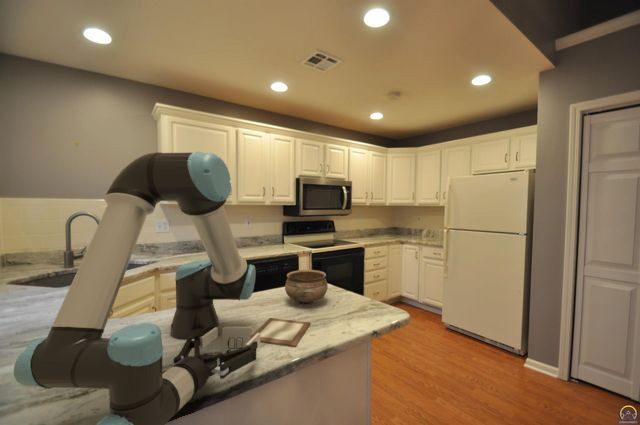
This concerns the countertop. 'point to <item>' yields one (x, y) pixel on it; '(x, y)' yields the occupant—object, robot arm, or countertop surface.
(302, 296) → the cooking pot
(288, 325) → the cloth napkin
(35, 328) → the countertop surface
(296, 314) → the countertop surface
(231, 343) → the electrical switch
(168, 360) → the countertop surface
